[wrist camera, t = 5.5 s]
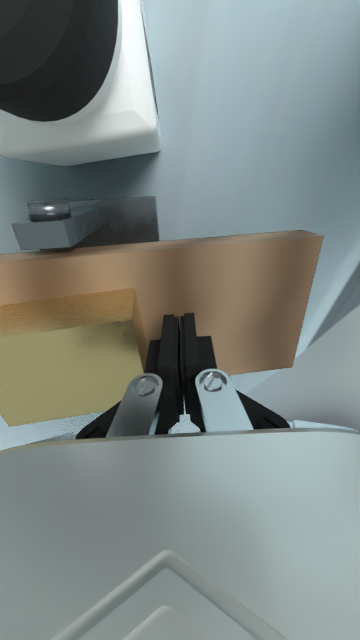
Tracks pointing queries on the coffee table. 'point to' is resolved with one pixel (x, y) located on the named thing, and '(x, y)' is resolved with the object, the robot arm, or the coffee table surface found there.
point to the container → (76, 81)
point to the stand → (88, 223)
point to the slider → (69, 355)
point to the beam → (191, 288)
